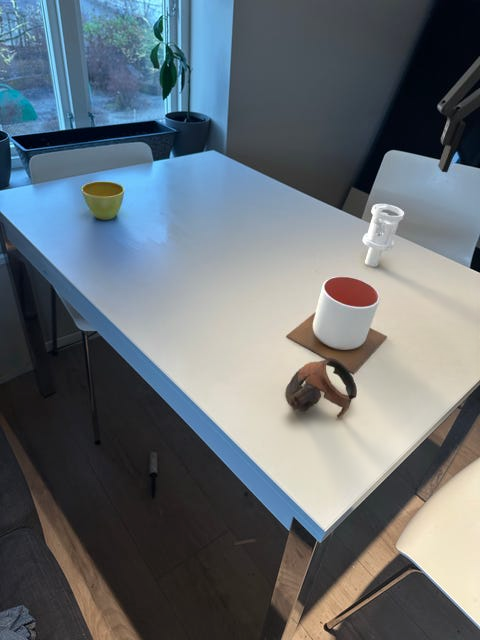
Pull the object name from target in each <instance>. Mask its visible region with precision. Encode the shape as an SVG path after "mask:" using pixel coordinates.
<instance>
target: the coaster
mask: <svg viewBox="0 0 480 640" xmlns="http://www.w3.org/2000/svg"><path fill="white" fill-rule="evenodd" d="M315 314H316V311H315V312H314V313H312V314H311V315H310V316H309V317H308V318H306V319H305V320H304V321H303V322H301V323H300V324H298V326H296V327H295V328H293V329H292V330H291V331H289V333H287V334H286V335H285V338H287V339H289V340H290V341H292V342H294V343H296V344H298V345H300V346H301V347H303V348H305V349H307V350H308V351H310V352H312V353H314V354H316V355H318V356H320V357H321V358H323V359H324V360H325V359H326V358H333V359H336V360H338V361H339V362H340V363H342V364H343V365H344V366H345V367H346V368H347V369H348V371H349V372H350V374H351V375H355V374H356V373H357V371H358V370H359V369H360V368H361V367H362V366H363V365H364V364H365V363H366V361H368V359H369V358H370V357H371V356H372V355H373V353H375V351H376V350H377V349H378V348H379V347H380V346H381V345H382V344H383V343H384V342H385V341H386V339H387V338H388V336H387V335H386V334H383V333H382V332H380V331H378V330H375V329H373V328H372V327H370V329H369V332H368V334H367V337H366V340H365V341H364V343H363V344H362V345H361V346H359V347H357V348H355V349H350V350H340V349H335V348H332V347H330V346H327V345H326V344H324V343H322V342H321V341H320V340H319V339H318V338H317V337H316V335H315V333H314V331H313V321H314V318H315Z"/></svg>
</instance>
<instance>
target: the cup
mask: <svg viewBox="0 0 480 640" xmlns="http://www.w3.org/2000/svg"><path fill="white" fill-rule="evenodd" d="M320 290H321V291H320V294H319V298H318V302H317V306H316V311H315V312H316V314H315V318H314V321H313V331H314V333H315V335H316V337H317V338H318V339H319V340H320V341H321V342H322V343H324V344H326V345H327V346H330V347H332V348H335V349H340V350H350V349H355V348H357V347H359V346H361V345H362V344H363V343H364V341H365V340H366V337H367V334H368V332H369V329H370V328H371V325H372V323H373V320H374V317H375V315H376V311H377V309H378V306H379V304H380V300H381V296H380V293H379V292H378V290H377V289H376V288H375V287H374V286H372V285H371V284H370V283H368V282H366V281H364V280H363V279H359V278H355V277H351V276H344V275H343V276H342V275H340V276H333V277H329V278H328V279H326V280H325V281H324V282H323V283H322V287H321V289H320Z"/></svg>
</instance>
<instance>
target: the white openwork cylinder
mask: <svg viewBox="0 0 480 640" xmlns="http://www.w3.org/2000/svg"><path fill="white" fill-rule="evenodd" d="M384 210H385V211H390V212H393V213H395V214H397V215H389V213H387V212H383V211H384ZM370 213H371V214H372V218H371V220H370V224H369V226H368V229H367V230H368V231H367V232H366V233H365V234H364V235H363V237H362V242H363V244H364V245H365V246H367V247H368V250H367V255H366V258H365V261H364V263H365V265H367V266H368V267H371V268H375V267H377V266H378V265H379V262H380V259H381V256H382V253H383V251H390V250H392V249H393V248H394V245H395V240H394V239H395V235H396V232H397V230H398V226H399V225H400V224H399V223H400V221H402V220H403V219H404V216H405V211H404V210H403V209H401V208H400V207H398V206H396V205H394V204H393V205H392V204H389V203H388V204H387V203H376V204H374V205H372V207H371V212H370Z"/></svg>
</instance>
